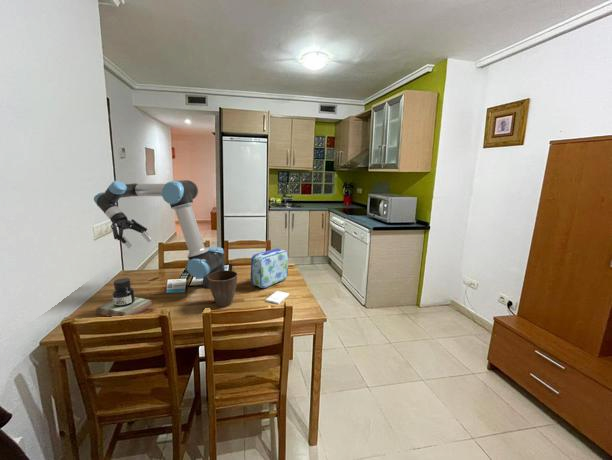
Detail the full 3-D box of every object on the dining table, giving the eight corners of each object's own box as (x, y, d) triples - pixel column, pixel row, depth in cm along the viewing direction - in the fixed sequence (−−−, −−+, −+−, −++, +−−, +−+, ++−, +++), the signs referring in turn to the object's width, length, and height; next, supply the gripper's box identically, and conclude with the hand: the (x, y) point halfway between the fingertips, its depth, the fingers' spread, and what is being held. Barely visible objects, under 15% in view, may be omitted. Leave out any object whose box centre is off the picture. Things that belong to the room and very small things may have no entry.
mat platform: (151, 305, 147) (151, 299, 147) (126, 320, 133) (125, 313, 133) (124, 300, 152) (123, 294, 152) (97, 314, 138) (96, 307, 138)
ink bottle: (109, 307, 137) (106, 284, 135) (119, 299, 146) (116, 277, 144) (130, 307, 138) (127, 283, 136) (139, 299, 147) (136, 277, 144)
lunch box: (278, 274, 193) (278, 244, 189) (290, 278, 187) (290, 247, 182) (249, 286, 173) (248, 253, 168) (261, 291, 166) (260, 257, 162)
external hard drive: (289, 296, 162) (278, 305, 151) (276, 293, 165) (265, 302, 154) (289, 293, 162) (278, 302, 151) (276, 290, 165) (265, 299, 154)
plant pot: (207, 311, 142) (205, 281, 139) (210, 298, 156) (209, 271, 153) (238, 309, 145) (237, 279, 142) (238, 296, 159) (237, 269, 156)
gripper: (132, 217, 175) (154, 242, 174) (92, 224, 152) (117, 253, 151) (138, 208, 173) (160, 234, 172) (98, 215, 150) (124, 245, 149)
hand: (140, 243), depth 161 cm, fingers open, 13 cm apart
